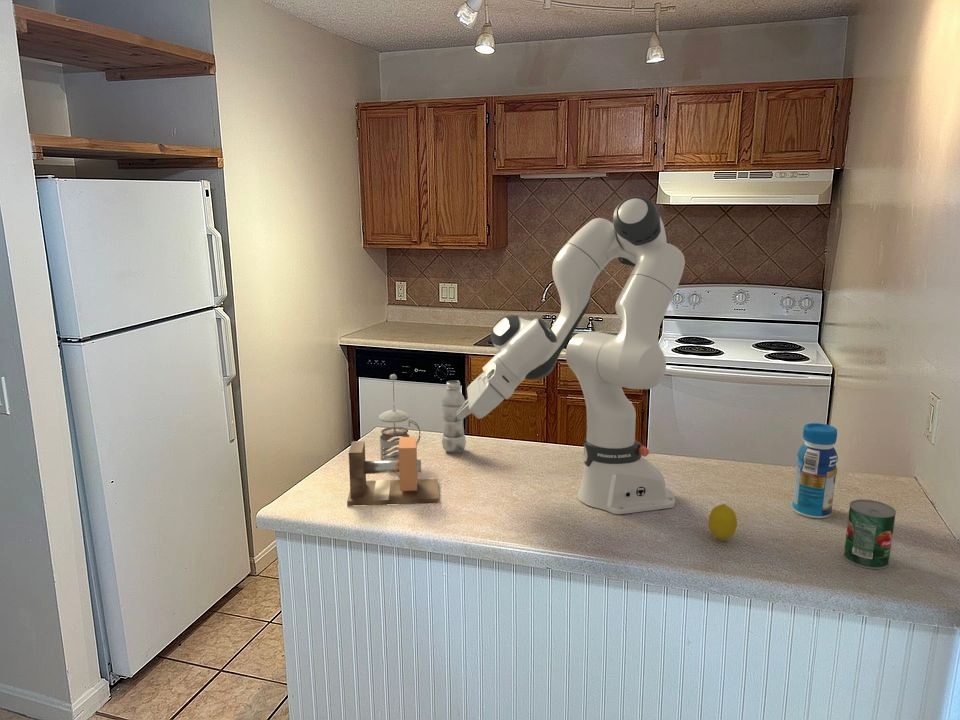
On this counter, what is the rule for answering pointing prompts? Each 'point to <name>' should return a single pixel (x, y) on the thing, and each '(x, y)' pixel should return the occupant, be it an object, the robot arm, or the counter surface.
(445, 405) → the plastic bottle
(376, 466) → the steel pipe
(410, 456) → the collar
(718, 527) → the lemon
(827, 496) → the beverage bottle
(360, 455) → the pipe stand
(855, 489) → the counter surface
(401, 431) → the french press
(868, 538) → the canned tomato
